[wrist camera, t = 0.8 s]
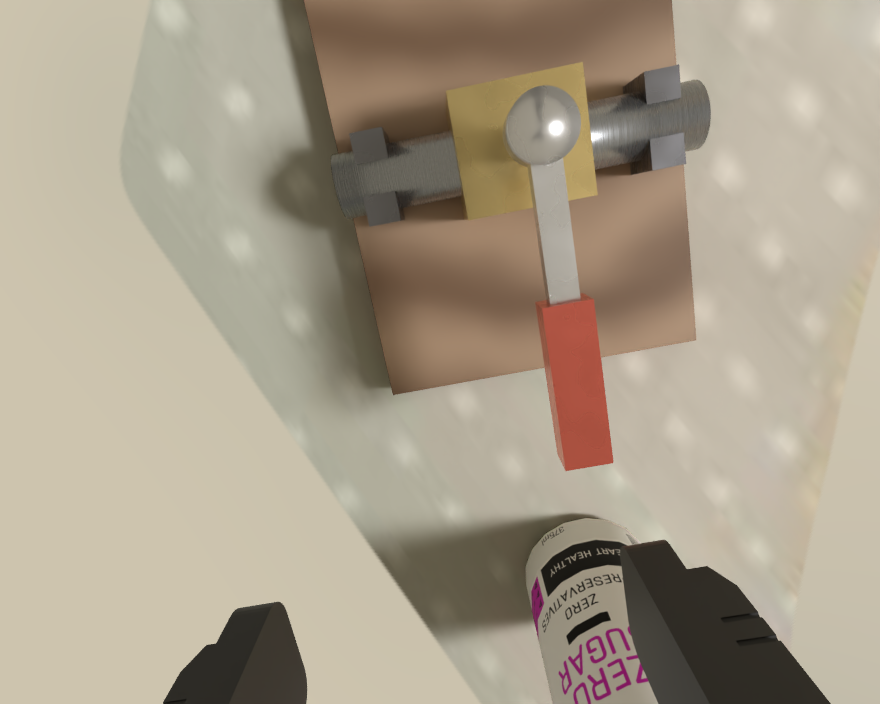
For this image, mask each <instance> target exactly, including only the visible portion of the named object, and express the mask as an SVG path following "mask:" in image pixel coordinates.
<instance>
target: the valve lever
mask: <svg viewBox="0 0 880 704" xmlns="http://www.w3.org/2000/svg"><path fill="white" fill-rule="evenodd" d="M580 129H581V117H580V112H579V109H578V106H577V104H576V102H575V101H574V99H573V98H572V97H571V96H570V95H569V94H568V93H567V92H565V91H564V90H562V89H560V88H558V87H555V86H549V85H543V86H537V87H534V88H532V89H530V90H528V91H526V92H525V93H524V94H522V95H521V96H520V97H519V98H518V99H517V101H516V102H515V103H514V105H513V106H512V108H511V110H510V111H509V113H508V115H507V117H506V119H505V122H504V125H503V141H504V145H505V148H506V150H507V152H508V153H509V155H510V156H511V157H512V159H513V160H515V161H516V162H517V163H519V164H520V165H523V166H525V167H527V169H528V176H529V183H530V190H531V197H532V204H533V211H534V218H535V225H536V232H537V239H538V246H539V253H540V260H541V267H542V274H543V281H544V288H545V295H546V300H543V301H538V302H535V305H536V311H537V318H538V325H539V332H540V338H541V345H542V352H543V359H544V365H545V372H546V379H547V386H548V392H549V399H550V406H551V413H552V419H553V426H554V433H555V440H556V446H557V453H558V456H559V458H560V460H561V462H562V464H563V466H564V469H565V471H569V470H574V469H580V468H586V467H592V466H598V465H604V464H610V463H613V455H612V447H611V438H610V430H609V422H608V413H607V405H606V397H605V388H604V380H603V372H602V363H601V355H600V347H599V338H598V330H597V322H596V313H595V305H594V299H593V298H591V297H589V296H588V295H586V294H584V293H581V294H580V289H579V281H578V273H577V265H576V258H575V250H574V242H573V234H572V226H571V218H570V210H569V202H568V194H567V186H566V178H565V170H564V162H563V157H564V156H566V155H567V154H568V153H569V152H570V151H571V150H572V148H573V147H574V145H575V144H576V142H577V140H578V137H579V134H580Z"/></svg>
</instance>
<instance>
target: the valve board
mask: <svg viewBox="0 0 880 704" xmlns="http://www.w3.org/2000/svg"><path fill="white" fill-rule="evenodd" d="M304 4H305V8H306V12H307V17H308V21H309V26H310V30H311V35H312V39H313V43H314V48H315V52H316V57H317V61H318V66H319V70H320V74H321V79H322V83H323V88H324V92H325V96H326V101H327V105H328V110H329V114H330V119H331V123H332V127H333V132H334V136H335V141H336V145H337V150H338V154H339V153H344V152H349V151H353V150H352V145H351V141H350V136H349V133H354V132H358V131H363V130H368V129H373V128H377V127H382V128H383V129H384V131H385V132H386V133H387V135H388V137H389V142H390V143H392V142H397V141H402V140H406V139H411V138H416V137H421V136H426V135H431V134H435V133H440V132H445V131H449V129H448V123H447V117H446V91H447V90H452V89H457V88H461V87H466V86H471V85H475V84H480V83H485V82H490V81H494V80H499V79H504V78H509V77H513V76H518V75H523V74H527V73H532V72H537V71H542V70H546V69H551V68H556V67H561V66H565V65H570V64H575V63H580V62H583V68H584V77H585V86H586V95H587V102H590V101H595V100H599V99H604V98H609V97H614V96H619V95H623V87H624V86H625V85H626V84H628V83H629V82H630V81H632V80H633V79H635V78H636V77H637V76H639V75H640V74H642V73H643V72H645V71H650V70H655V69H660V68H664V67H669V66H674V65H676V53H675V39H674V25H673V12H672V0H304ZM595 175H596V184H597V193H598V195H595V196H590V197H585V198H580V199H575V200H570V201H568V202H569V210H570V218H571V226H572V234H573V242H574V250H575V258H576V265H577V273H578V281H579V289H580V294H581V293H584V294H586V295H588V296H589V297H591V298H593V299H594V305H595V313H596V322H597V330H598V338H599V347H600V355H601V357H606V356H611V355H617V354H622V353H628V352H633V351H639V350H644V349H650V348H655V347H661V346H667V345H672V344H678V343H683V342H689V341H694V340H696V329H695V316H694V302H693V288H692V274H691V260H690V247H689V233H688V219H687V205H686V191H685V177H684V164H683V165H678V166H674V167H669V168H664V169H659V170H654V171H649V172H644V173H639V174H634V175H631V169H630V163H626V164H621V165H616V166H611V167H606V168H601V169H596V170H595ZM403 211H404V216H405V220H403V221H398V222H393V223H388V224H383V225H378V226H371V227H369V223H368V218H367V215H366V216H361V217H356V218H353V220H354V225H355V229H356V233H357V238H358V242H359V247H360V251H361V256H362V260H363V264H364V269H365V273H366V278H367V282H368V287H369V291H370V295H371V300H372V304H373V309H374V313H375V317H376V322H377V326H378V331H379V335H380V340H381V344H382V348H383V353H384V357H385V362H386V366H387V370H388V375H389V379H390V384H391V388H392V393H393V395H395V394H401V393H406V392H412V391H418V390H423V389H429V388H434V387H440V386H445V385H451V384H456V383H462V382H467V381H473V380H478V379H484V378H489V377H495V376H501V375H506V374H512V373H517V372H523V371H528V370H534V369H539V368H545V365H544V359H543V352H542V345H541V338H540V332H539V325H538V318H537V311H536V305H535V302H538V301H543V300H546V295H545V288H544V281H543V274H542V267H541V260H540V253H539V246H538V239H537V232H536V225H535V218H534V211H533V208H529V209H524V210H519V211H514V212H509V213H504V214H499V215H494V216H489V217H484V218H479V219H474V220H469V221H468V220H464V214H463V208H462V203H461V197H456V198H451V199H446V200H441V201H436V202H431V203H426V204H421V205H416V206H411V207H406V208H403Z"/></svg>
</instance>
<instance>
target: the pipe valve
mask: <svg viewBox="0 0 880 704" xmlns="http://www.w3.org/2000/svg"><path fill="white" fill-rule="evenodd" d="M543 85H549V86H555V87H558V88H560V89H562V90H564V91H565V92H567V93H568V94H569V95H570V96H571V97H572V98H573V99H574V101H575V102H576V104H577V106H578V109H579V112H580V117H581V129H580V134H579V137H578V140H577V142H576V144H575V145H574V147H573V148H572V150H571V151H570V152H569V153H568V154H567V155H566V156H564V157H563V162H564V170H565V178H566V186H567V194H568V201H570V200H575V199H580V198H585V197H590V196H595V195H598V193H597V184H596V175H595V170H596V169H601V168H606V167H611V166H616V165H621V164H626V163H630V169H631V175H634V174H639V173H644V172H649V171H654V170H659V169H664V168H669V167H674V166H678V165H683V164H686V157H685V152H686V151H691V150H696V149H699V148H700V147H701V146H702V145H703V144H704V142H705V140H706V138H707V135H708V131H709V126H710V115H711V112H710V101H709V97H708V93H707V90H706V88H705V86H704V85H703V83H702V82H700V81H699V80H691V81H686V82H682V83H680V72H679V65H674V66H669V67H664V68H660V69H655V70H650V71H645V72H643V73H642V74H640V75H639V76H637V77H636V78H635V79H633V80H632V81H630V82H629V83H628V84H626V85H625V86H624V87H623V95H619V96H614V97H609V98H604V99H599V100H595V101H590V102H587V95H586V86H585V77H584V68H583V62H580V63H575V64H570V65H565V66H561V67H556V68H551V69H546V70H542V71H537V72H532V73H527V74H523V75H518V76H513V77H509V78H504V79H499V80H494V81H490V82H485V83H480V84H475V85H471V86H466V87H461V88H457V89H452V90H447V91H446V117H447V123H448V129H449V131H445V132H440V133H435V134H431V135H426V136H421V137H416V138H411V139H406V140H402V141H397V142H392V143H390V142H389V137H388V135H387V133H386V132H385V131H384V129H383V128H382V127H377V128H373V129H368V130H363V131H358V132H354V133H349V136H350V141H351V145H352V150H353V151H349V152H344V153H339V154H334V155H332V156H331V169H332V175H333V181H334V185H335V189H336V193H337V197H338V200H339V203H340V206H341V209H342V211H343V213H344V215H345V217H346V218H347V219H351V218H356V217H361V216H366V215H367V218H368V223H369V227H371V226H378V225H383V224H388V223H393V222H398V221H403V220H405V216H404V211H403V208H406V207H411V206H416V205H421V204H426V203H431V202H436V201H441V200H446V199H451V198H456V197H461V203H462V208H463V214H464V220H468V221H469V220H474V219H479V218H484V217H489V216H494V215H499V214H504V213H509V212H514V211H519V210H524V209H529V208H533V204H532V197H531V190H530V183H529V176H528V169H527V167H525V166H523V165H520V164H519V163H517V162H516V161H515V160H513V159H512V157H511V156H510V155H509V153H508V152H507V150H506V148H505V145H504V141H503V125H504V122H505V119H506V117H507V115H508V113H509V111H510V110H511V108H512V106H513V105H514V103H515V102H516V101H517V99H518V98H519V97H520V96H521V95H522V94H524V93H525V92H526V91H528V90H530V89H532V88H534V87H537V86H543Z"/></svg>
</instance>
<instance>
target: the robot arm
mask: <svg viewBox="0 0 880 704" xmlns="http://www.w3.org/2000/svg"><path fill="white" fill-rule="evenodd" d="M620 559H621V567H622V575H623V583H624V591H625V599H626V607H627V615H628V622H629V627H630V632H631V636H632V640H633V643H634V646H635V650H636V653H637V655H638V658H639V661H640V663H641V665H642V668H643V670H644V672H645V675H646V677H647V679H648V681H649V684H650V686H651V688H652V690H653V693H654V695H655V697H656V700H657V702H658V704H830V702H829V701H828V700H827V699H826V697H825V696H824V695H823V693H822V692H821V691H820V690H819V688H818V687H817V686H816V685H815V683H814V682H813V681H812V680H811V678H810V677H809V676H808V675H807V673H806V672H805V671H804V670H803V668H802V667H801V666H800V665H799V663H798V662H797V661H796V659H795V658H794V657H793V656H792V654H791V653H790V652H789V651H788V649H787V648H786V647H785V646H784V644H783V643H782V642H781V641H778V639H777V637H776V634H775V633H774V632H773V630H772V629H771V628H770V627H769V625H768V624H767V623H766V622H765V620H764V619H763V618H762V617H761V618H760V617H759V614H758V611H757V610H756V609H755V608H754V606H753V605H752V604H751V603H750V601H749V600H748V599H747V598H746V596H745V595H744V594H743V593H742V591H741V590H740V589H739V587H738V586H737V585H735V584H734V583H732V582H731V581H729V580H728V579H726V578H724V577H723V576H721V575H720V574H718V573H717V572H715V571H714V570H712V569H711V568H709V567H708V566H705V567H699V568H693V569H686V568H685V566H684V565H683V563H682V562H681V560H680V559H679V557H678V556H677V554H676V553H675V552H674V550H673V549H672V547H671V546H670V544H669V543H668V542H667V541H666V540H659V541H653V542H647V543H641V544H635V545H629V546H623V547H621V549H620ZM306 700H307V679H306V673H305V669H304V665H303V662H302V659H301V656H300V652H299V649H298V646H297V643H296V640H295V637H294V634H293V630H292V627H291V624H290V621H289V618H288V615H287V612H286V609H285V607H284V605H282V603H280V602H274V603H268V604H262V605H256V606H250V607H243V608H238V609H236V610H235V611H234V612H233V613H232V615H231V617H230V618H229V620H228V622H227V624H226V626H225V628H224V630H223V632H222V634H221V635H220V637H219V639H218V641H217V643H216V644H211V645H206V646H205V647H204V648H203V649H202V650H201V651H200V652H199V654H198V655H197V656H196V657H195V658H194V659H193V660H192V661H191V662H190V663H189V664H188V665H187V666H186V667H185V668H184V669H183V670H182V671H181V672H180V674H179V676H178V677H177V679H176V681H175V683H174V684H173V686H172V688H171V690H170V691H169V693H168V695H167V697H166V698H165V700H164V702H163V704H306Z"/></svg>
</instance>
